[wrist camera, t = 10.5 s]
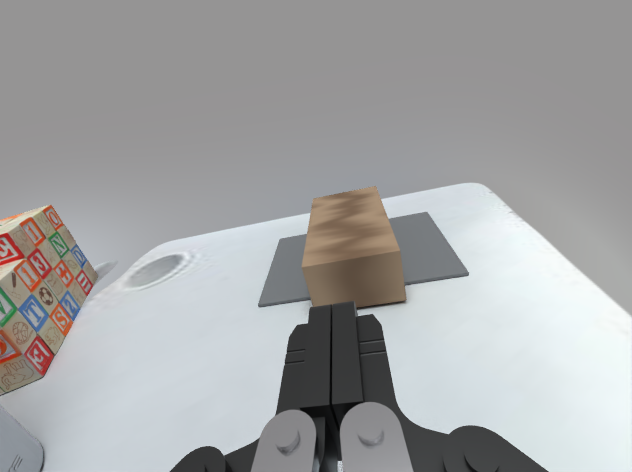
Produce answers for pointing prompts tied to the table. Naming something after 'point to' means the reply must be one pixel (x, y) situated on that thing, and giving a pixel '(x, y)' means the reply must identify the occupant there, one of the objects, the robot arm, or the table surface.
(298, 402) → the robot arm
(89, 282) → the stack of blocks
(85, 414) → the table surface
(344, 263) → the walnut block
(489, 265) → the table surface
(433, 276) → the mat
